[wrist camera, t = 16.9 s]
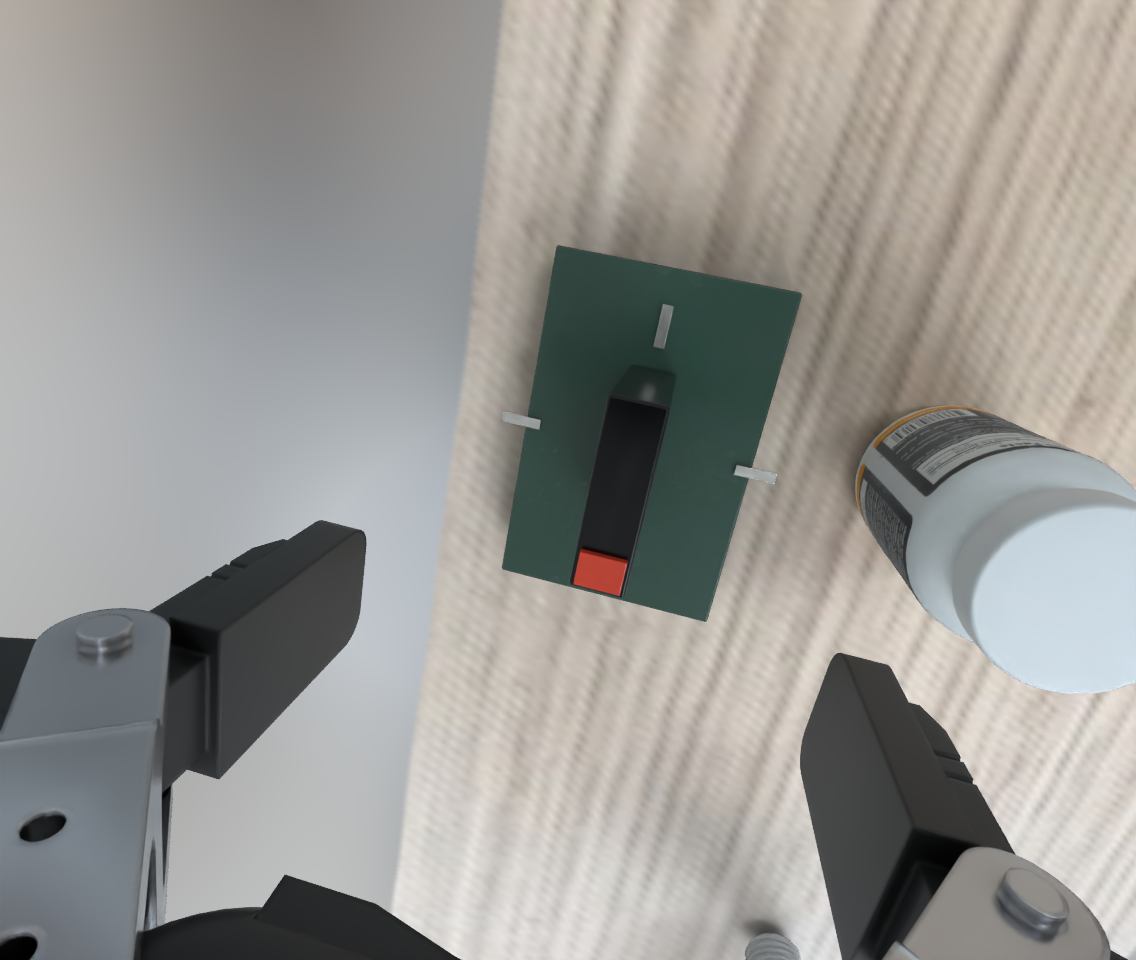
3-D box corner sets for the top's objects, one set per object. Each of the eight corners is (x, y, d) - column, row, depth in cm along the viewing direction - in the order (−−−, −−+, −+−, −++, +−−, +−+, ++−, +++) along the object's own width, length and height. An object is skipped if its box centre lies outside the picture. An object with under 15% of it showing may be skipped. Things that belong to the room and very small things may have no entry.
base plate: (547, 243, 24) (529, 239, 21) (816, 296, 23) (831, 298, 20) (498, 540, 28) (478, 566, 25) (726, 597, 27) (729, 630, 24)
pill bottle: (982, 568, 24) (1160, 748, 15) (828, 527, 25) (907, 675, 16) (1051, 423, 23) (1303, 525, 13) (883, 382, 23) (1009, 453, 14)
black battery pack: (630, 363, 22) (607, 394, 16) (677, 373, 22) (670, 408, 16) (598, 513, 24) (566, 589, 18) (641, 523, 24) (623, 604, 18)
